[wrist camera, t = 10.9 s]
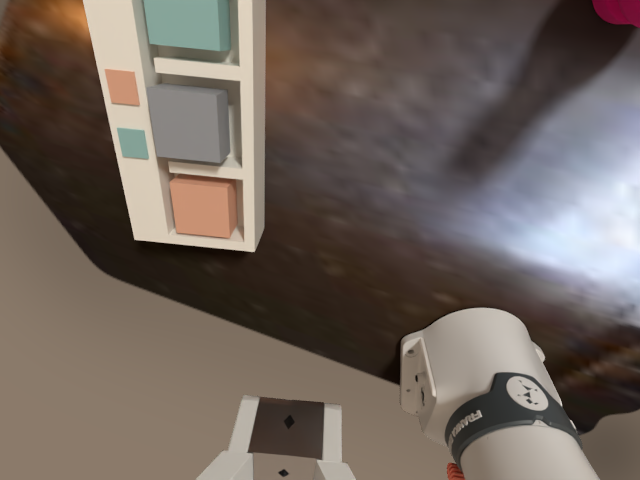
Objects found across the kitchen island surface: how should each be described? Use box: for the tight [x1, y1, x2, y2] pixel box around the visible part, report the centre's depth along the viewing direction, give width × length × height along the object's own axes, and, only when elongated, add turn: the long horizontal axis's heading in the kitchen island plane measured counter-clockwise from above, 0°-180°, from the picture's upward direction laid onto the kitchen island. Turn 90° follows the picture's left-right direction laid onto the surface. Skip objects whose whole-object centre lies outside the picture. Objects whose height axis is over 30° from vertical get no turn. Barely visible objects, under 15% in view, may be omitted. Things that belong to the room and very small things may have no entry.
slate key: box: [146, 83, 230, 163], centre depth 28 cm, size 5×5×3 cm
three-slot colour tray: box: [83, 0, 266, 252], centre depth 30 cm, size 24×12×5 cm, turn 175°
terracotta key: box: [169, 173, 238, 238], centre depth 33 cm, size 5×5×3 cm
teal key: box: [144, 0, 231, 51], centre depth 25 cm, size 5×5×3 cm
